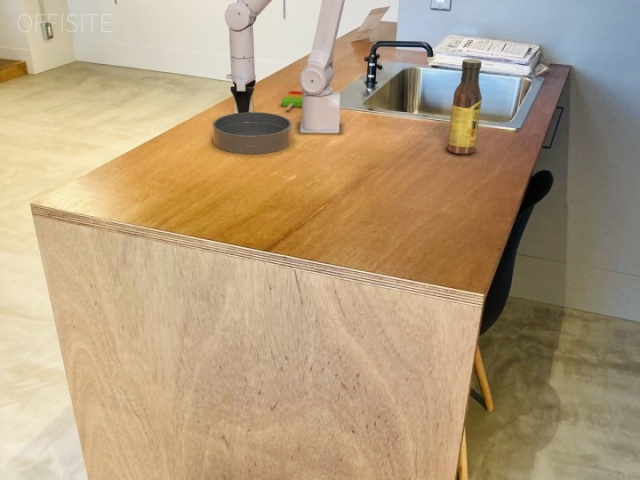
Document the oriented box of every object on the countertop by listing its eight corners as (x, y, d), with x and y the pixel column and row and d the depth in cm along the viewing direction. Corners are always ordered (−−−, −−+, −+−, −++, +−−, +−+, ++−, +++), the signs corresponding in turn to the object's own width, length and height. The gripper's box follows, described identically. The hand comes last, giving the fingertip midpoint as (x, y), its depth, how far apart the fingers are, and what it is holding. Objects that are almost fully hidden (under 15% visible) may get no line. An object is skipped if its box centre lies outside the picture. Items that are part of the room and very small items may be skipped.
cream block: (253, 119, 175) (252, 87, 170) (252, 124, 171) (251, 92, 167) (236, 119, 175) (235, 87, 170) (235, 124, 171) (233, 91, 167)
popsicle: (308, 98, 192) (308, 91, 191) (297, 114, 179) (297, 106, 178) (289, 97, 192) (289, 90, 191) (276, 112, 180) (276, 105, 179)
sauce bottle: (474, 156, 154) (487, 65, 143) (446, 154, 155) (457, 63, 144) (474, 147, 160) (487, 58, 149) (447, 145, 161) (458, 56, 150)
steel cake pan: (292, 130, 167) (292, 112, 165) (290, 156, 152) (290, 136, 150) (218, 130, 167) (217, 111, 164) (209, 155, 152) (208, 135, 149)
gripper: (228, 49, 170) (231, 104, 178) (222, 63, 158) (225, 121, 166) (256, 49, 170) (258, 104, 178) (253, 63, 158) (254, 122, 166)
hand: (244, 113), depth 172 cm, fingers closed on cream block, 4 cm apart
